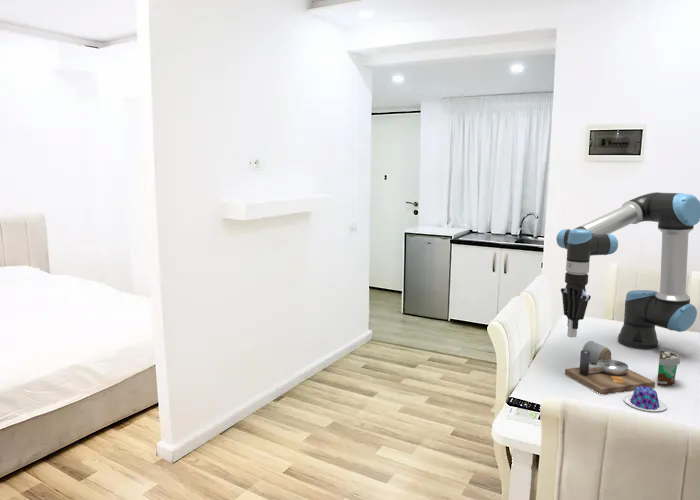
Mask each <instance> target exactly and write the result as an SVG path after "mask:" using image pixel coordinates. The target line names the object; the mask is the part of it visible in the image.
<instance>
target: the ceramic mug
mask: <svg viewBox="0 0 700 500" xmlns="http://www.w3.org/2000/svg"><path fill="white" fill-rule="evenodd" d="M582 350H588V351H590V361H589V363H590V362H591V363H594V364H595V365H597V361H598V360H601V359H611V360H613V358H612V351H611V349H609V348H608V347H607V346H604V345H602V344H599V343H598V342H595V341H593V340H588V341H587V342H586V343H584V345H583V346H582Z"/></svg>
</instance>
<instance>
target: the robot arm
mask: <svg viewBox="0 0 700 500" xmlns="http://www.w3.org/2000/svg"><path fill="white" fill-rule="evenodd" d="M643 222H654V223H655V222H656V223H657V228H658V230H659V231H660V232H661V258H660V281H659V283H660V284H659V285H660V287H659V292H658V291H656V290H651V289H650V290H647V289H638V290H637V289H634V290H629V291H628V292H626V296H625V302H624V314H623V315H624V317H623V324H622V327H621V329H620V331H619V334H618V336H617V342H618V343H619V344H620V345H622V346H625V347H629V348H633V349H639V350H655V349H657V348H658V347H659V339H658V335H657V332H656V326H658V327H660V328H663V329H666V330H669V331H673V332H674V331H675V332H679V333H682V332H686V331H688V330H689V329H690V328H691V327H692V326H693V324H694V323H695V321H696V319H697V315H698V310H697V308H696V306H695V305H693V304H692V303H691V297H690V296H689V295H688V294H687V274H688V273H687V272H688V253H689V251H688V250H689V249H688V248H689V233H690V232H691V231H693V230H694V226H695V225H698V224H699V222H700V199H699V198H697V196H696V195H693V194H688V193H683V192H651V193H650V192H649V193H646V194H642V195H640V196H637V197H635V198H632V199H629V200H628V201H625V202H624V203H623V204H622V205H621V207H618V208H616V209H615V210H612V211H610V212H608V213H605V214H603V215H601V216H598V217H597V218H595V219H593V220H590V221H588V222H586V223H584V224H581V225H579V226H578V227H575V228H573V229H569V228H566V229H561V230H560V231H558V233H557V235H556V243H557V246H558V247H560V248H561V249H565V250H566V265H565V271H566V272H565V275H564V282H565V284H566V285H565V287H563V288H562V287H561V288H560V292H561V296H562V307H563V310H562V311H563V315H564V316H566V318H567V334H566V335H567V337H568V338H577V333H578V328H579V321H580V320H584V318H585V315H586V312H587V307H588V304H589V301H590V300H591V295H588V294H587V293H586V292H587V289H586V286H587V285H588V283H589V272H590V259H591V256H608V255H612V254H614V253H615V252H616V251H617V250H618V248H619V242H618V241H619V240H618V239H617V237H616V236H615V235H614V234H612V233H614V232H616V231H618V230H620V229H623V228H625V227H626V226H629V225H637V224H639V223H643Z"/></svg>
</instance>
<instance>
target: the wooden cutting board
mask: <svg viewBox="0 0 700 500" xmlns="http://www.w3.org/2000/svg"><path fill="white" fill-rule="evenodd" d="M579 369H580V366H578V367H571V368H570V367H569V368H565V369H564V375H565V376H567V377H569V378H571V379H573V380H574V381H576V382H578V383H579V384H582V385H583V386H585V387H586V386H587V387H586V388H588V387H589V388H588V389H590V388H591V389H590V390H592V389H593V390H594V392H595V391H596V392H595V393H597V392H598V393H597V394H599V393H600V394H604V395H609V394H608V393H612V394H617V393H616V392H619V393H625V392H624V391H626V392H632V391H633V392H634V390H635V388H636V387H638V386H646V387H650V388H653V389H655V388H656V381H654V380H652V379H650V378H648V377H646V376H644V375H641V374H640V373H637V372H636V371H633V370H632V369H629V368H628V373H627V374H625V375H612V374H607V373H604V372H599V373H591V374H588V375H583V374H580V373H579ZM593 390H592V391H593ZM600 394H599V395H600Z"/></svg>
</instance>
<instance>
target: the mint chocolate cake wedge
mask: <svg viewBox="0 0 700 500" xmlns="http://www.w3.org/2000/svg"><path fill="white" fill-rule="evenodd" d="M680 364H681V360H680V356H679V354H678V353H677V352H674V351H671V350H669V349H668V350H667V349H664V348H660V349H659V360H658V370H657V378H656V379H657V381H656V385H657V386H660V387H661V386H662V387H671V386H674V385H675V379H676V374H677V369H678V365H680Z"/></svg>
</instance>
